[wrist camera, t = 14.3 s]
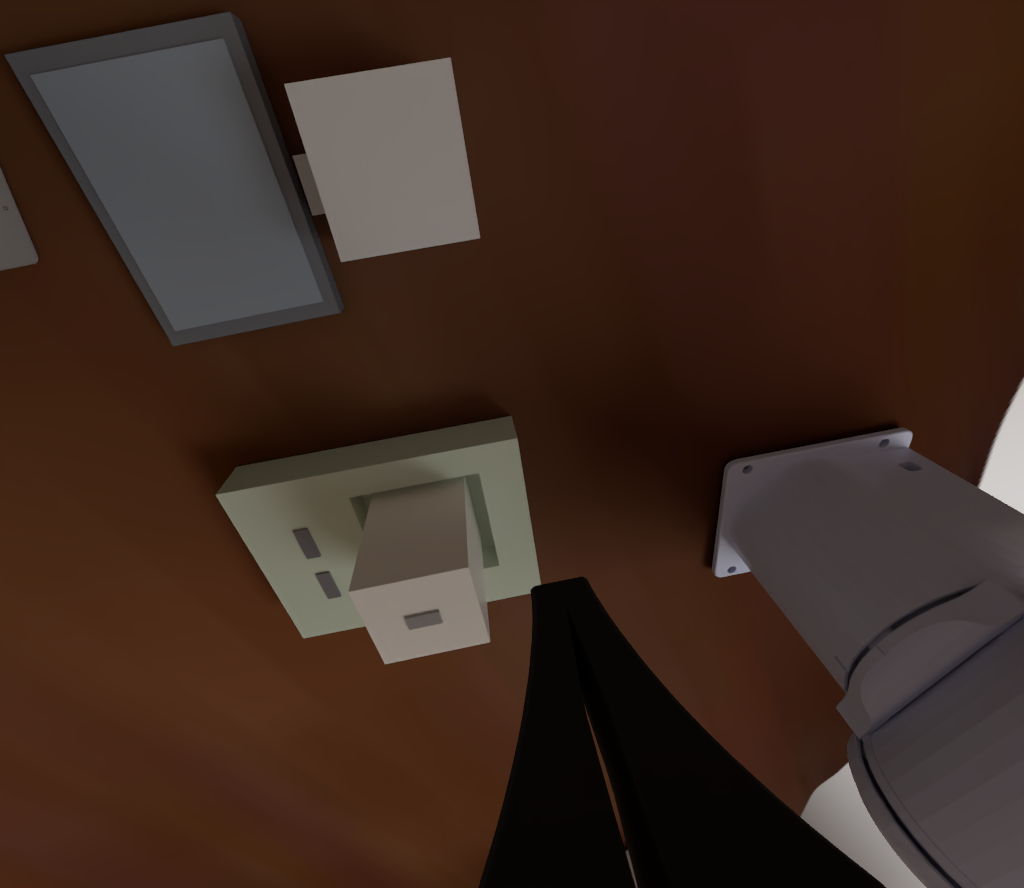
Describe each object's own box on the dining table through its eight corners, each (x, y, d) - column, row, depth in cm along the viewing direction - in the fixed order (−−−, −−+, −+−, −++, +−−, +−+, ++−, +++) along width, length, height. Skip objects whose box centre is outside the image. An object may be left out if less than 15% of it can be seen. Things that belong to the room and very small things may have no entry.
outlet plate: (511, 415, 20) (517, 439, 18) (535, 561, 24) (542, 592, 22) (235, 466, 19) (214, 496, 17) (314, 605, 24) (302, 640, 22)
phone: (248, 25, 13) (228, 10, 12) (346, 305, 17) (339, 313, 16) (39, 65, 13) (0, 53, 12) (190, 336, 17) (171, 347, 16)
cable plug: (450, 84, 14) (450, 57, 11) (474, 227, 16) (480, 238, 13) (287, 111, 14) (241, 90, 11) (333, 251, 16) (306, 268, 13)
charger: (463, 467, 20) (468, 569, 15) (480, 534, 22) (490, 644, 17) (374, 485, 20) (347, 594, 15) (400, 550, 22) (384, 666, 17)
